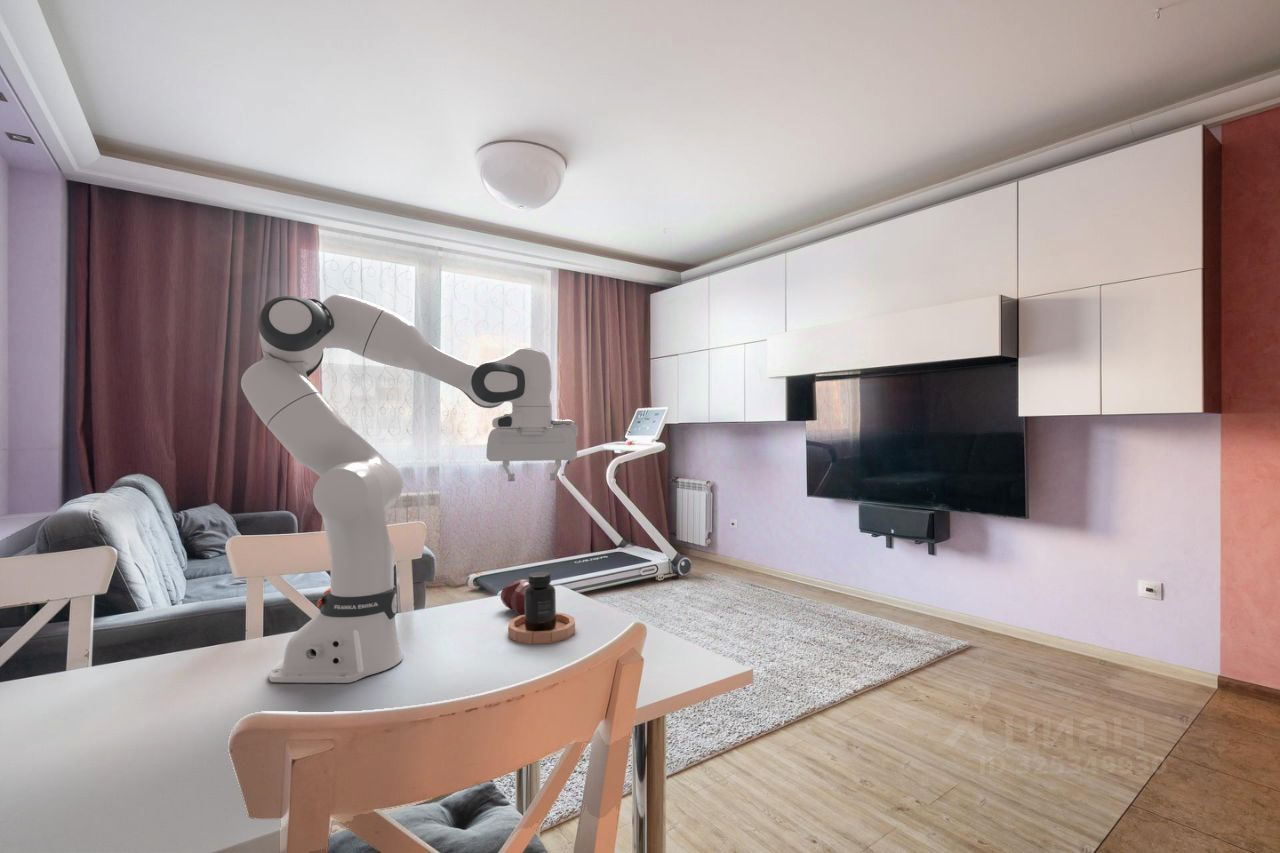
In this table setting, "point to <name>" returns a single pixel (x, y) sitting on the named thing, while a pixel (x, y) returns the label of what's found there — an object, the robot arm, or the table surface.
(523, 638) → the tray
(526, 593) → the supplement bottle
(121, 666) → the table surface
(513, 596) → the heart
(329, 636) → the robot arm
